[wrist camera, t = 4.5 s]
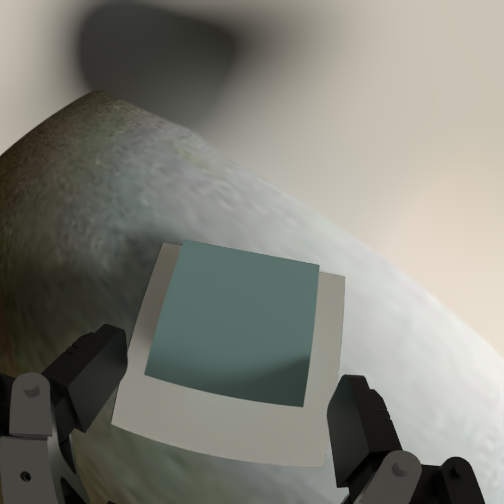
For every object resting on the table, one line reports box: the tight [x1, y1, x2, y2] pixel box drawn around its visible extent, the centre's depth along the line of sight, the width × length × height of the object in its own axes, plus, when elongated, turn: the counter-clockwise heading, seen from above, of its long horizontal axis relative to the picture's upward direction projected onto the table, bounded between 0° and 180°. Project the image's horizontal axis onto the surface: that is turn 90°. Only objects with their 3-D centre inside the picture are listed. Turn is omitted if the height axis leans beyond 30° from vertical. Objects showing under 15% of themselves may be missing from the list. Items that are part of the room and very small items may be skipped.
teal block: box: [144, 240, 319, 407], centre depth 15 cm, size 6×6×10 cm
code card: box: [111, 242, 345, 467], centre depth 19 cm, size 16×16×1 cm
